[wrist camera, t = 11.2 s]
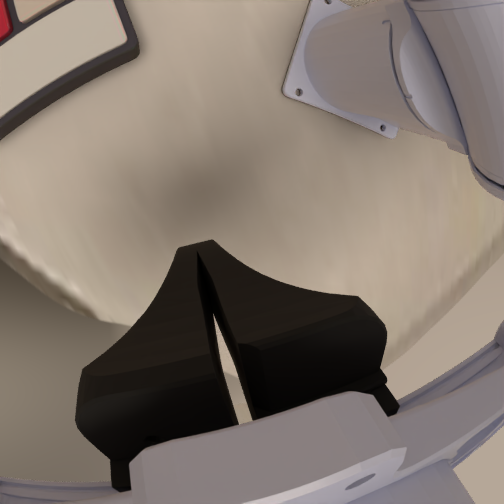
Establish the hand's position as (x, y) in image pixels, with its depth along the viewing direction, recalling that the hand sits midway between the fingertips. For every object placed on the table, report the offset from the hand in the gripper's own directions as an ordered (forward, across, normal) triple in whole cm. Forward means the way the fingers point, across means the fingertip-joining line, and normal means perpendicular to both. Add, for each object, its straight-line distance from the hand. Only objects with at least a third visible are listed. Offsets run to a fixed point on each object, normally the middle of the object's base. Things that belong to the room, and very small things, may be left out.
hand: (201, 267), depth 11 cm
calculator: (+10, +8, -15) cm, 20 cm away
